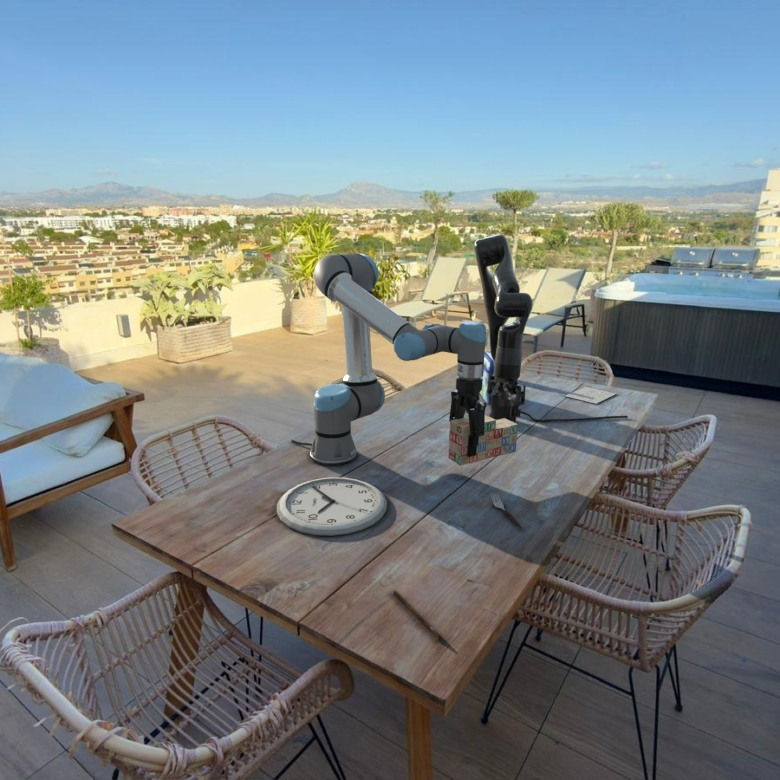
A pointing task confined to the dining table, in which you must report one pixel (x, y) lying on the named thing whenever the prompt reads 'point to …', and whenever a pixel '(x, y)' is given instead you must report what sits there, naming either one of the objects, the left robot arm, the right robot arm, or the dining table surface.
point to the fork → (500, 505)
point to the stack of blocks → (482, 440)
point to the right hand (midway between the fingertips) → (503, 412)
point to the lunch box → (488, 370)
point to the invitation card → (590, 395)
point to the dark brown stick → (416, 614)
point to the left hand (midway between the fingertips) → (464, 451)
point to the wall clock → (331, 506)
